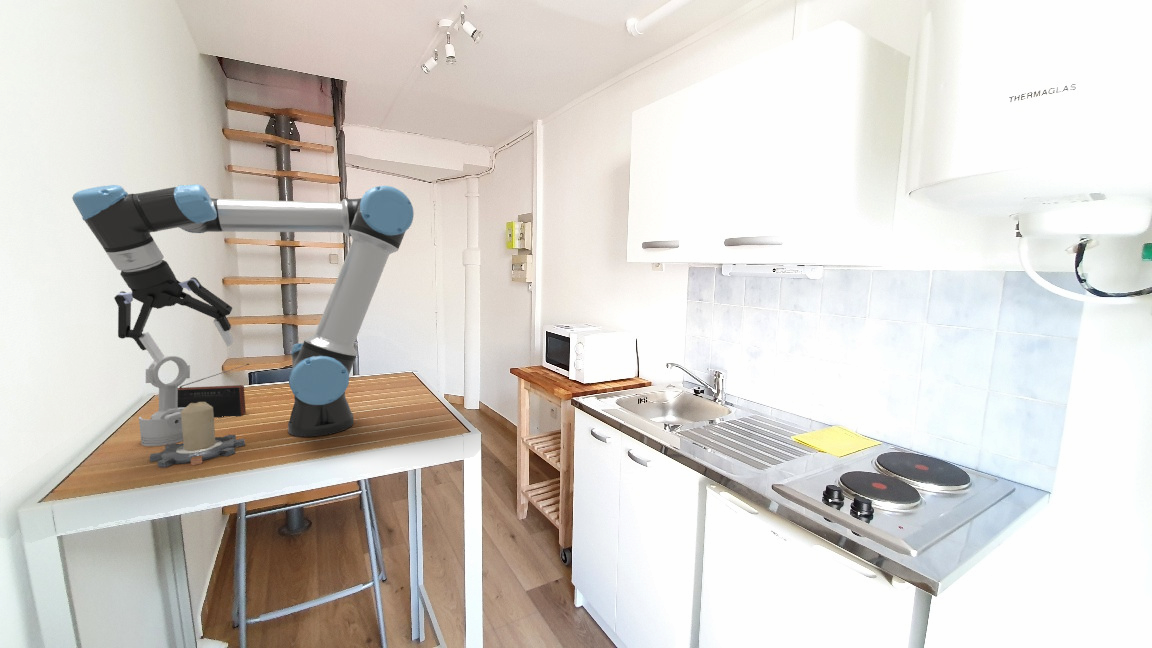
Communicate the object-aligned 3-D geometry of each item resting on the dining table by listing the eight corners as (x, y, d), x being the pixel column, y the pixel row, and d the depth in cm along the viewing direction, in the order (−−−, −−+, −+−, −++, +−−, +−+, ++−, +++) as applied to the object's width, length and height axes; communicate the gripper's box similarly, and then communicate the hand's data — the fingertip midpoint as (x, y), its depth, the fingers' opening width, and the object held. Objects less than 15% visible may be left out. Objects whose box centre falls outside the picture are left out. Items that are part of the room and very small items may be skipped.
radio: (172, 420, 123) (167, 367, 122) (179, 417, 126) (174, 365, 125) (248, 416, 128) (245, 365, 126) (253, 413, 131) (250, 363, 129)
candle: (197, 451, 98) (194, 407, 97) (177, 449, 99) (173, 405, 98) (221, 442, 103) (218, 400, 102) (202, 441, 104) (199, 399, 103)
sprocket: (262, 441, 108) (261, 436, 108) (195, 470, 92) (194, 463, 92) (203, 437, 110) (203, 432, 110) (128, 464, 94) (128, 458, 94)
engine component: (129, 444, 106) (163, 447, 104) (121, 359, 104) (155, 361, 102) (178, 429, 116) (210, 432, 114) (172, 352, 114) (204, 353, 112)
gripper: (54, 286, 84) (122, 376, 95) (209, 257, 91) (255, 343, 102) (74, 272, 90) (135, 358, 101) (218, 246, 97) (260, 328, 108)
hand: (196, 351), depth 101 cm, fingers open, 13 cm apart
